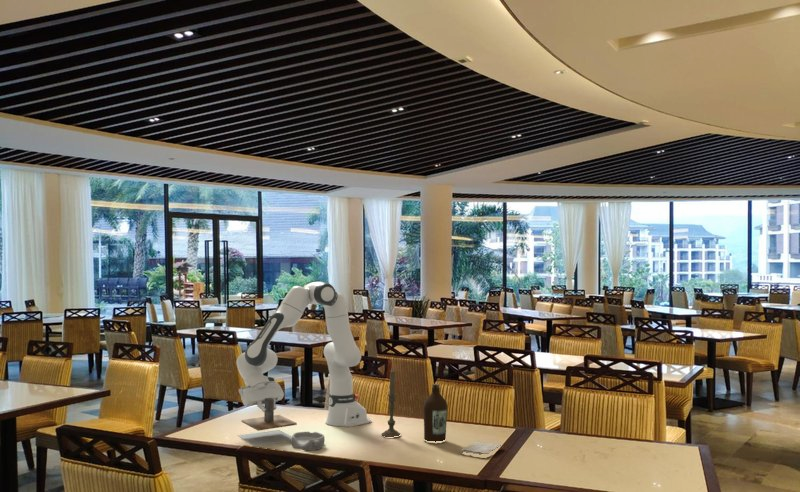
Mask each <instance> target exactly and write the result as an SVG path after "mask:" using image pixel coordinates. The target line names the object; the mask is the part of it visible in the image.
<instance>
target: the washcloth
mask: <svg viewBox="0 0 800 492" xmlns="http://www.w3.org/2000/svg"><path fill="white" fill-rule="evenodd" d="M501 445H502V444H498V443H488V442H485V441H475V442H474V443H471V444H469V445H468V446H465V447H464V448H462V449H461V451H462V452H461V451H460V452H461V453H463V452H466V453H473V454H479V455H481V454H489V453H490V452H491V451H493V450H495V449H496V448H498V447H499V446H501Z"/></svg>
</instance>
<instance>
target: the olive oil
mask: <svg viewBox="0 0 800 492" xmlns="http://www.w3.org/2000/svg"><path fill="white" fill-rule="evenodd" d="M431 386H432V387H431V394H430V395H429V396H427V398H425V400H424V403H423V436H424V437H423V439H425V440H427V441H435V442H436V441H443V440H445V439H446V438H447V437H446V436H447V421H448V420H447V419H448V403H447V401H446V399H445V397H443V395H441V393H440V391H441V390H440V384H438V383H433V384H432V385H431ZM446 440H447V439H446Z"/></svg>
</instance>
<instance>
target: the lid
mask: <svg viewBox="0 0 800 492" xmlns="http://www.w3.org/2000/svg"><path fill="white" fill-rule="evenodd" d="M264 406H266V408H267V411H266V412H263V414H264V416H261V417H260V416H259V417H255V418H246V419H241V423H243V424H245V425H247V426H248V427H250V428H252V429H254V430H255V431H257V432H258V431H259V432H260V431H265V430H271V429H278V428H286V427H291V426H297V425H298V424H297V422H295V421H293V420H291V419H289V418H287V417H285V416H282V414H274V413H275V410H274V399H273V398H265V403H264Z"/></svg>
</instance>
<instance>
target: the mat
mask: <svg viewBox="0 0 800 492" xmlns="http://www.w3.org/2000/svg"><path fill="white" fill-rule="evenodd" d="M237 437H238V438H240V439H242V440H243V441H244V442H247V443H249V444H250V445H252V446H254V447H261V446H268V445H274V444H280V443H287V442H292V435H290V434H288V433H286V432H285V431H283V430H281V429H276V430H268V431H262V432H260V431H259V432H253V433H247V434H239V435H237Z"/></svg>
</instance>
